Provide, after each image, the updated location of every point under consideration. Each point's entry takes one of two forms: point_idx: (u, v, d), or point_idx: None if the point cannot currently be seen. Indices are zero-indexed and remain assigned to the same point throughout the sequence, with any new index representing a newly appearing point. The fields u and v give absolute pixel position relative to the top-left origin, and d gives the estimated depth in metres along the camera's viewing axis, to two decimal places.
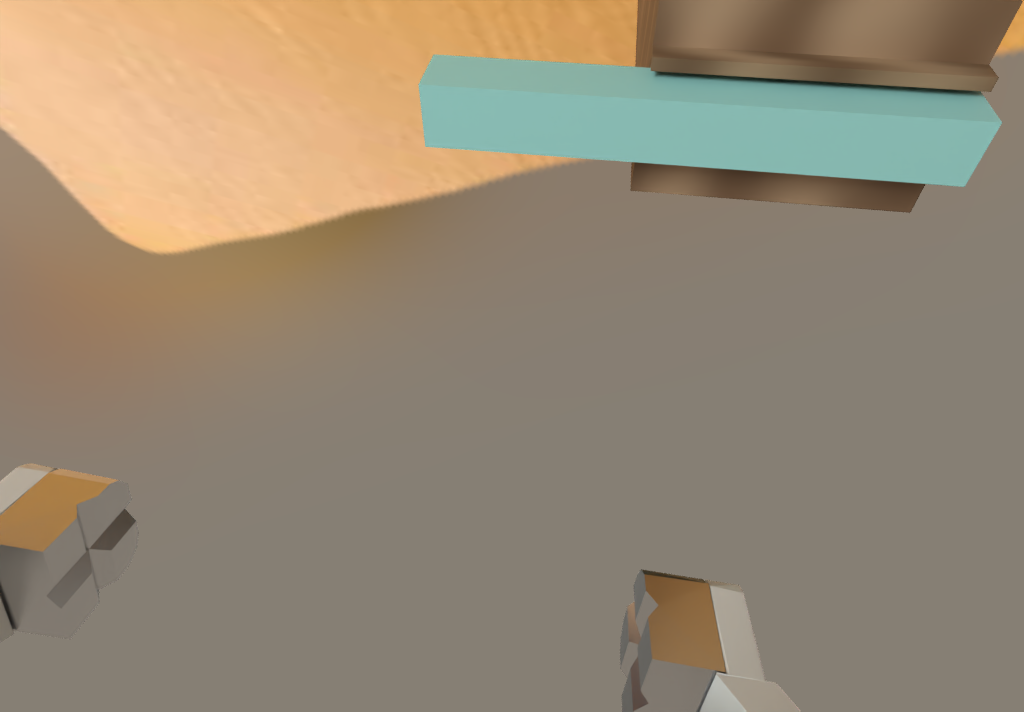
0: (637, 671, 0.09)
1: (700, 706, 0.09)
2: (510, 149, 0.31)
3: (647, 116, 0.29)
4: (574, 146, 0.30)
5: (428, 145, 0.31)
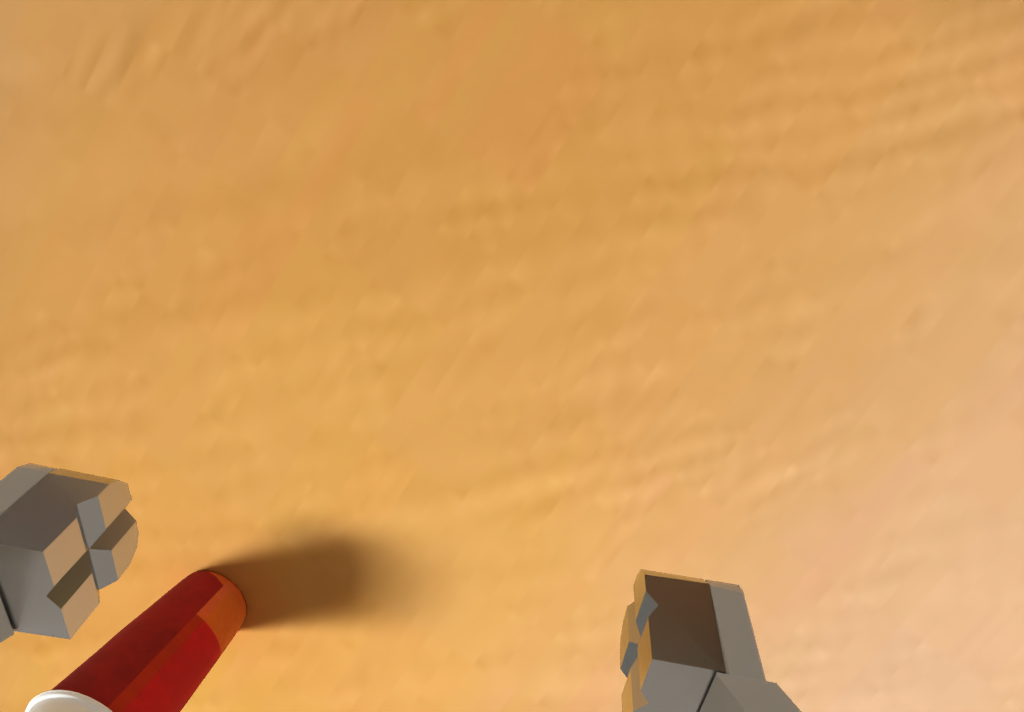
0: (637, 671, 0.09)
1: (700, 706, 0.09)
2: None
3: None
4: None
5: None
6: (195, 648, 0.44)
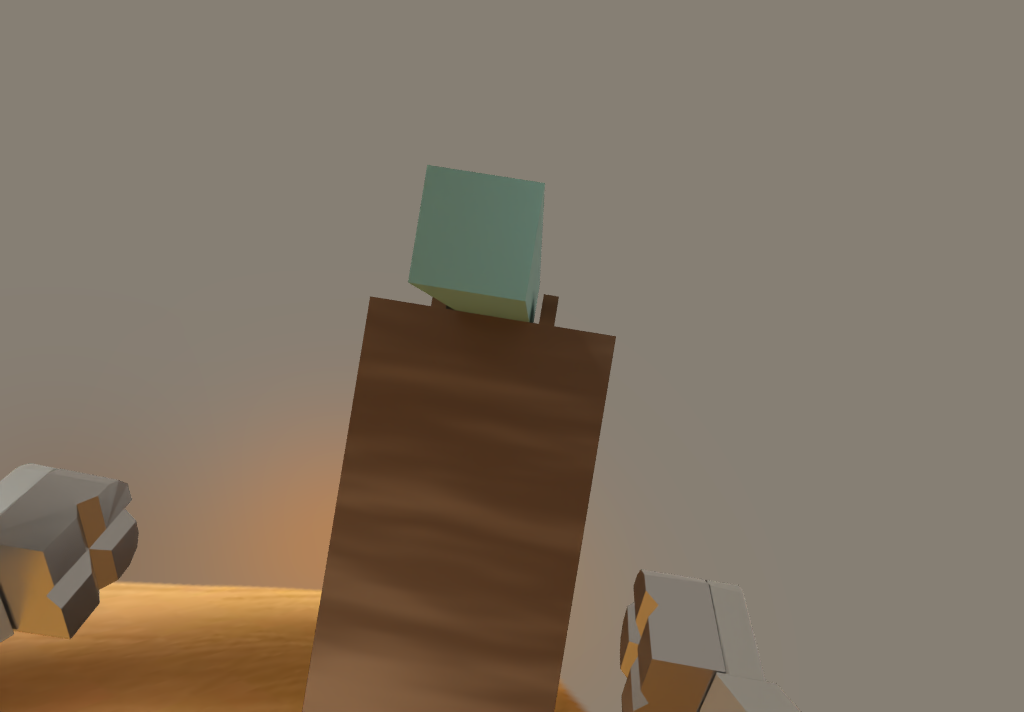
0: (637, 671, 0.09)
1: (700, 706, 0.09)
2: None
3: None
4: None
5: None
6: None
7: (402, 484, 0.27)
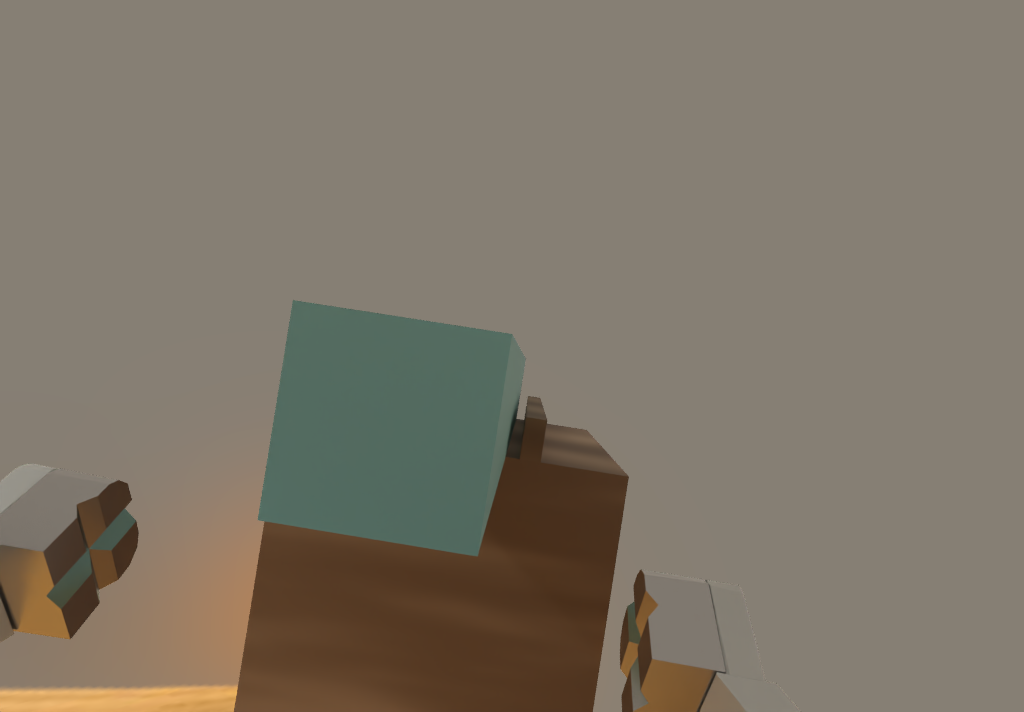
0: (637, 671, 0.09)
1: (700, 706, 0.09)
2: None
3: None
4: None
5: (507, 333, 0.09)
6: None
7: (327, 688, 0.19)
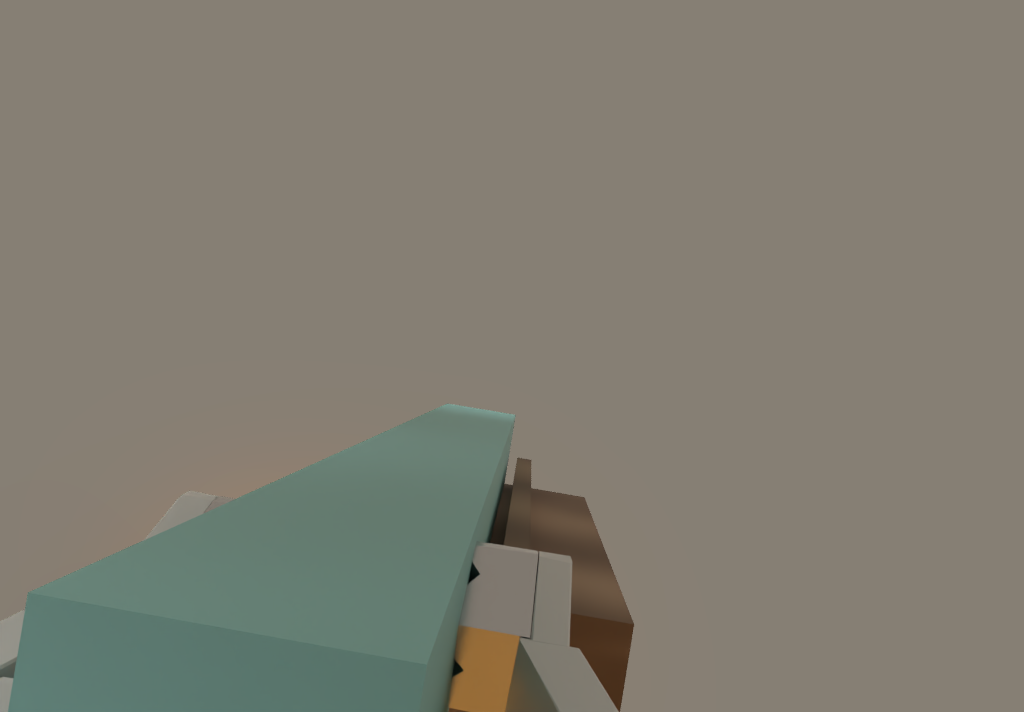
0: None
1: (513, 673, 0.09)
2: (460, 525, 0.09)
3: (400, 445, 0.15)
4: (458, 482, 0.12)
5: (421, 653, 0.05)
6: None
7: None
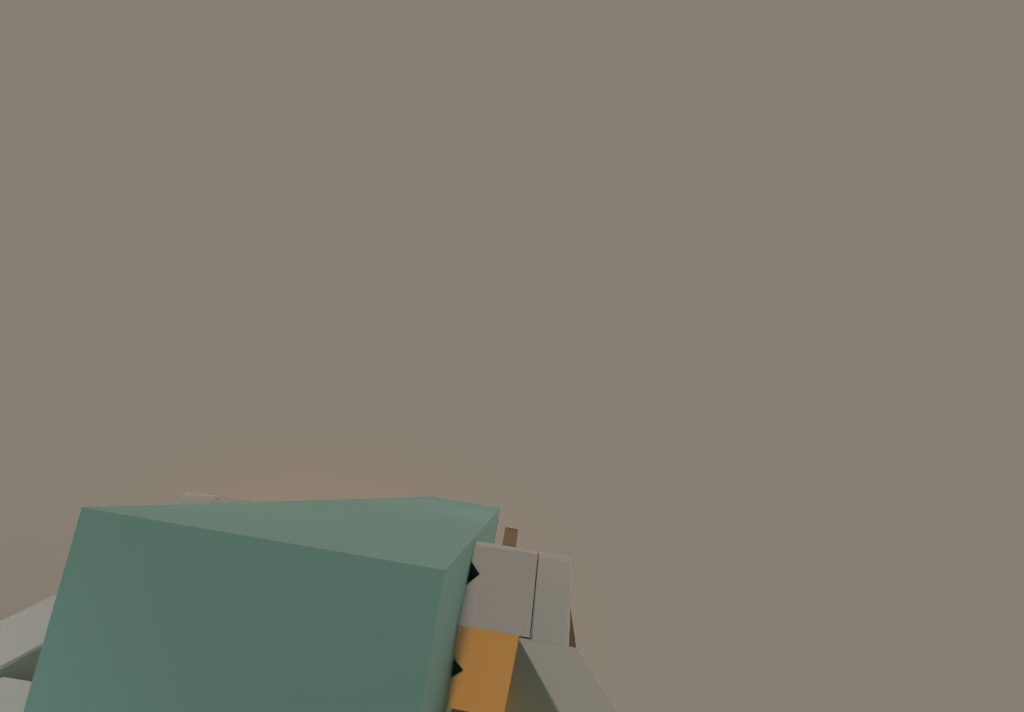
0: None
1: (513, 673, 0.09)
2: (459, 535, 0.09)
3: (392, 504, 0.15)
4: (452, 522, 0.12)
5: (438, 566, 0.05)
6: None
7: None
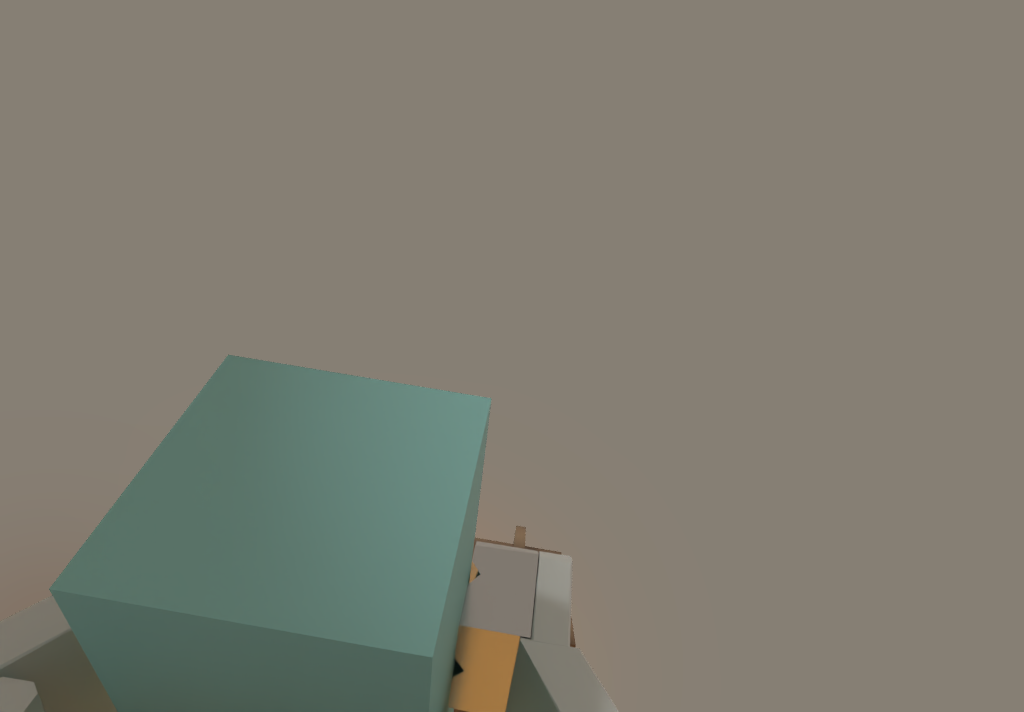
0: None
1: (514, 673, 0.09)
2: None
3: None
4: None
5: None
6: None
7: None
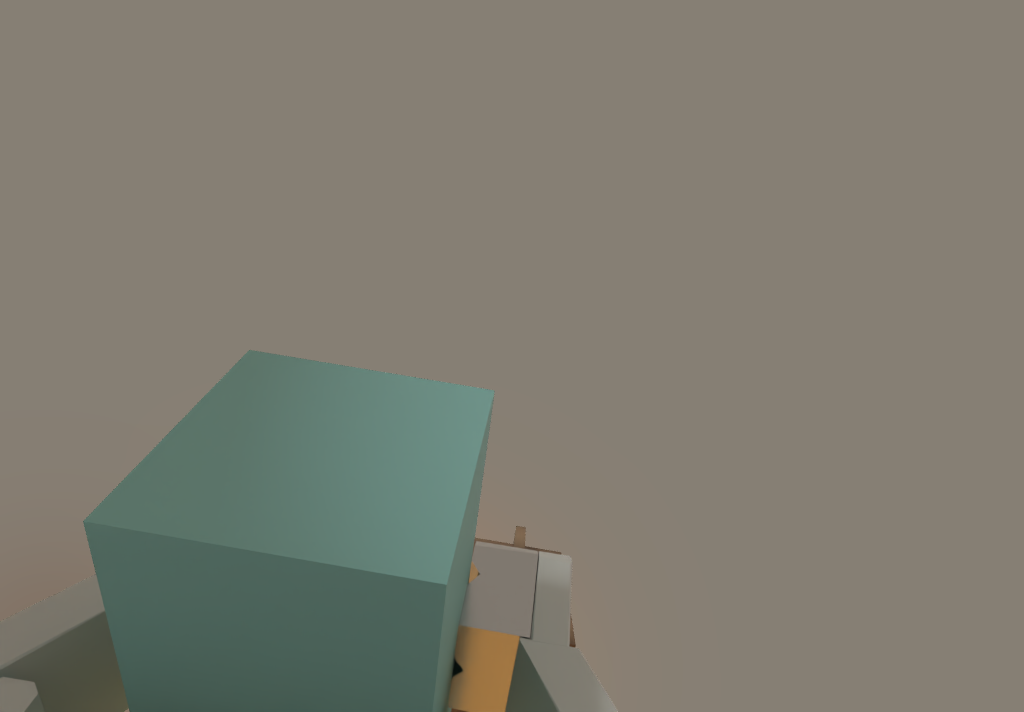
0: None
1: (513, 673, 0.09)
2: None
3: None
4: None
5: None
6: None
7: None
